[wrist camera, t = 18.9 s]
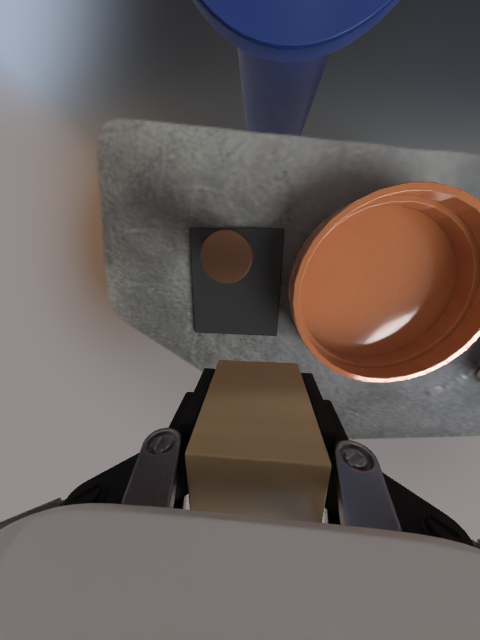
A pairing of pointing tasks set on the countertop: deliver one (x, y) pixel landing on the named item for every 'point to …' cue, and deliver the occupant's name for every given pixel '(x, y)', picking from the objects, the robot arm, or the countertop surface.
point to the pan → (391, 283)
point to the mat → (239, 287)
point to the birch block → (258, 445)
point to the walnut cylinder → (226, 256)
